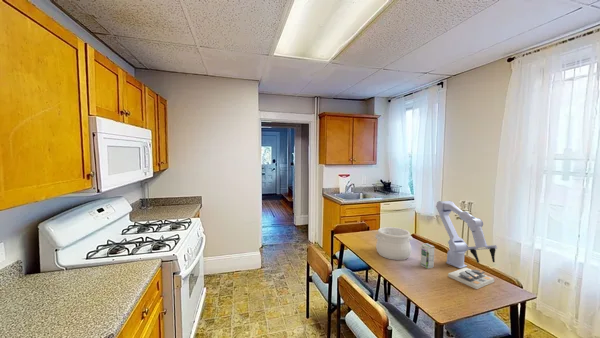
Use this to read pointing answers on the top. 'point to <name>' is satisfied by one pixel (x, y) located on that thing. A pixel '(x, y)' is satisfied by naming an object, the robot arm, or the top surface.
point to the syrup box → (427, 255)
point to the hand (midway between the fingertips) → (486, 262)
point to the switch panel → (475, 282)
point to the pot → (393, 243)
